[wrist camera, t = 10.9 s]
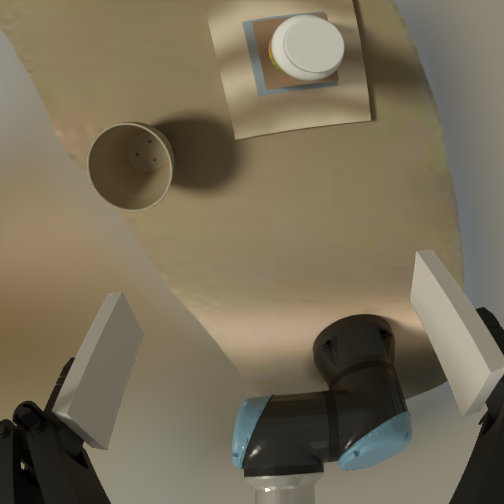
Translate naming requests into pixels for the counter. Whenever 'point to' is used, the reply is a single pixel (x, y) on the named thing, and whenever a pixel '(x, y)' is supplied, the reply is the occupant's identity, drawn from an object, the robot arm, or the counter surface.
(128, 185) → the flower pot
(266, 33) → the walnut block
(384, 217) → the counter surface
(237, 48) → the tan flat sheet
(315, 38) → the supplement bottle
